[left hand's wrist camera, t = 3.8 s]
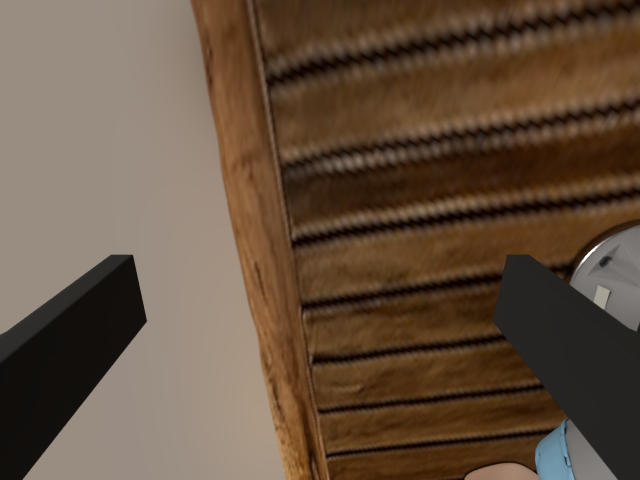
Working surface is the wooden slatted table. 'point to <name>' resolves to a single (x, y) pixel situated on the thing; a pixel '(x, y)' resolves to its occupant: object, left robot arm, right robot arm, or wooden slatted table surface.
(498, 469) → the anatomical model
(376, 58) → the wooden slatted table surface
